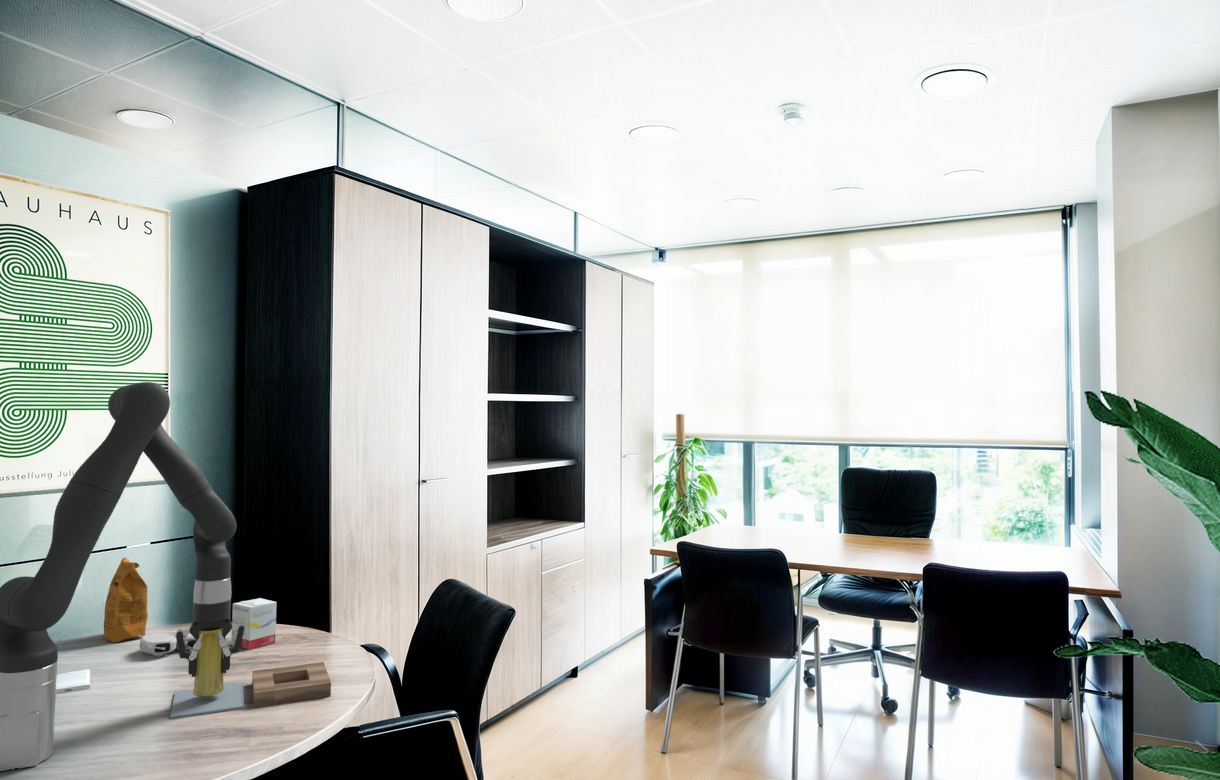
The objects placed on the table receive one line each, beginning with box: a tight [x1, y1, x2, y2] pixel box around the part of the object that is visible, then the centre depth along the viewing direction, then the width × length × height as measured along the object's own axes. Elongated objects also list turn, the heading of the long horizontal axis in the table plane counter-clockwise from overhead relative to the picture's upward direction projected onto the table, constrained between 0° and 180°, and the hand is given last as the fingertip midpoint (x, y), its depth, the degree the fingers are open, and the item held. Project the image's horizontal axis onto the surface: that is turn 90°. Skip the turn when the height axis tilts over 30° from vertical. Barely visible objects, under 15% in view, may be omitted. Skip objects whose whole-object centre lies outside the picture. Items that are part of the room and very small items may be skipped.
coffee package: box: [103, 557, 149, 643], centre depth 214 cm, size 10×12×22 cm
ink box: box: [230, 597, 277, 651], centre depth 210 cm, size 9×9×12 cm
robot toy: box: [137, 633, 196, 657], centre depth 202 cm, size 12×4×15 cm
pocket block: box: [251, 661, 332, 708], centre depth 175 cm, size 16×16×3 cm
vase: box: [193, 628, 224, 696], centre depth 168 cm, size 6×6×14 cm
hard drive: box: [56, 669, 91, 695], centre depth 176 cm, size 2×8×12 cm
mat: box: [169, 682, 245, 720], centre depth 167 cm, size 16×14×1 cm
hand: (209, 673), depth 168 cm, fingers closed on vase, 5 cm apart
